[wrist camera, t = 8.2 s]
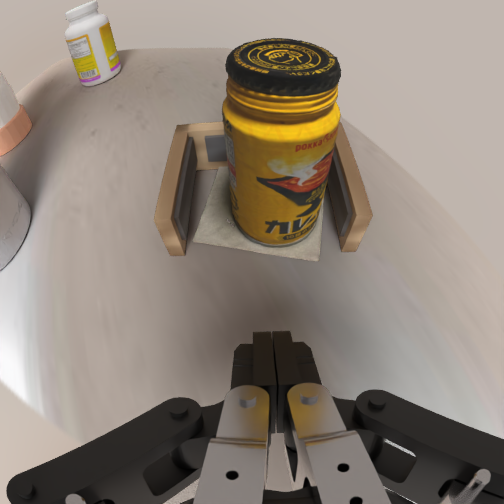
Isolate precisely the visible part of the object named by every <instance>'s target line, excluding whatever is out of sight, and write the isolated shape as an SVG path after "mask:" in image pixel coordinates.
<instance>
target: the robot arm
mask: <svg viewBox="0 0 504 504" xmlns="http://www.w3.org/2000/svg"><path fill="white" fill-rule="evenodd" d="M30 217H31V212H30V207H29V204H28V202H27V201H26V200H25V199H24V197H23V196H22V195H21V193H20V192H19V190H18V189H17V188H16V186H15V185H14V184H13V182H12V181H11V179H10V178H9V176H8V175H7V173H6V172H5V170H4V169H3V167H2V166H1V165H0V270H1V269H3V268H4V267H5V266H6V265H7V263H8V262H9V261H10V260H11V259H12V258H13V256H14V255H15V254H16V252H17V251H18V249H19V247H20V245H21V244H22V242H23V240H24V238H25V235H26V233H27V230H28V227H29V224H30ZM276 425H277V433H284V439H285V440H284V452H285V457H286V462H287V466H288V471H289V476H290V480H291V485H292V491H291V492H279V491H273V490H266V489H267V473H268V456H269V446H270V444H271V433H275V426H276ZM386 439H387V440H389V441H391V442H393V443H395V444H397V445H399V446H401V447H403V448H405V449H407V450H410V451H411V452H413V453H414V454H415V456H416V457H414V456H412V455H410V454H408V453H406V452H404V451H402V450H400V449H398V448H396V447H394V446H392V445H390V444H388V443H386V442H385V441H386ZM199 477H200V479H199V483H198V487H197V490H196V494H195V498H193V499H190V500H187V501H185V502H183V503H180V504H415V503H417V504H504V439H501V438H499V437H496V436H493V435H490V434H488V433H485V432H482V431H479V430H477V429H474V428H472V427H469V426H466V425H464V424H461V423H459V422H456V421H454V420H451V419H449V418H446V417H444V416H442V415H439V414H437V413H434V412H432V411H430V410H427V409H425V408H423V407H420V406H418V405H416V404H413V403H411V402H409V401H407V400H404V399H402V398H400V397H398V396H395V395H393V394H391V393H389V392H386V391H383V390H368V391H365V392H363V393H361V394H360V395H359V396H358V397H357V399H356V401H354V400H344V399H339V398H335V397H333V396H331V394H330V392H329V390H328V389H327V388H325V387H324V386H322V384H321V381H320V377H319V374H318V371H317V367H316V364H315V361H314V358H313V355H312V351H311V348H310V347H309V346H307V345H306V344H305V343H304V342H293V341H292V337H291V332H290V331H272V337H271V332H253V344H240V345H239V346H238V347H237V348H236V350H235V351H234V360H233V370H232V380H231V390H230V391H229V392H228V393H227V395H226V397H225V400H223V401H222V402H220V403H218V404H215V405H211V406H206V407H200V405H199V404H198V403H197V402H196V401H194V400H192V399H189V398H183V397H179V398H172V399H169V400H167V401H165V402H163V403H161V404H160V405H158V406H156V407H154V408H153V409H151V410H149V411H147V412H146V413H144V414H142V415H140V416H138V417H137V418H135V419H133V420H131V421H129V422H127V423H125V424H124V425H122V426H120V427H118V428H116V429H114V430H112V431H110V432H108V433H107V434H105V435H103V436H101V437H99V438H97V439H95V440H93V441H91V442H89V443H87V444H85V445H83V446H81V447H78V448H76V449H74V450H72V451H70V452H68V453H66V454H64V455H62V456H59V457H57V458H55V459H53V460H50V461H48V462H46V463H44V464H41V465H39V466H37V467H34V468H32V469H30V470H27V471H25V472H22V473H20V474H18V475H16V476H14V477H13V478H12V479H11V480H10V481H9V483H8V485H7V497H8V499H9V501H10V502H11V504H163V503H164V502H166V501H167V500H169V499H170V498H172V497H173V496H175V495H176V494H177V493H179V492H180V491H182V490H183V489H185V488H186V487H187V486H189V485H190V484H191V483H193V482H194V481H195V480H197V479H198V478H199ZM383 486H385V487H386V488H388V489H390V490H392V491H394V492H392V491H390V490H388V489H384V487H383ZM395 492H396V493H398V494H400V495H401V496H400V495H398V494H396V493H395ZM402 496H403V497H402ZM404 497H405V498H407V499H409V500H411V501H413V502H415V503H413V502H411V501H409V500H407V499H405V498H404Z"/></svg>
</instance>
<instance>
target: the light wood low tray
mask: <svg viewBox="0 0 504 504" xmlns="http://www.w3.org/2000/svg"><path fill="white" fill-rule="evenodd" d="M225 166H227V167H228V163H227V155H226V144H225V138H224V125H223V122H210V123H197V124H185V125H177V126H176V130H175V134H174V137H173V141H172V144H171V148H170V152H169V156H168V160H167V164H166V168H165V172H164V176H163V180H162V184H161V189H160V193H159V197H158V202H157V206H156V211H155V216H154V222H155V224H156V226H157V228H158V231H159V233H160V235H161V237H162V239H163V241H164V243H165V246H166V248H167V250H168V252H169V254H170V256H183V255H185V249H186V240H187V232H188V224H189V216H190V208H191V201H192V194H193V187H194V180H195V173H196V170H208V169H218V168H219V167H225ZM327 184H328V188H329V193H330V197H331V202H332V206H333V211H334V216H335V221H336V226H337V231H338V236H339V241H340V246H341V252H355V251H356V249H357V247H358V245H359V243H360V241H361V239H362V237H363V235H364V233H365V231H366V229H367V227H368V225H369V222H370V220H371V218H372V216H373V215H372V211H371V208H370V204H369V201H368V198H367V195H366V191H365V188H364V185H363V182H362V179H361V176H360V173H359V170H358V167H357V164H356V161H355V158H354V155H353V153H352V150H351V147H350V144H349V142H348V139H347V136H346V134H345V131H344V129H343V126H342V123H341V122H339V127H338V135H337V137H336V141H335V146H334V152H333V156H332V160H331V165H330V171H329V175H328V180H327Z"/></svg>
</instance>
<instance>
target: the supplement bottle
mask: <svg viewBox="0 0 504 504" xmlns="http://www.w3.org/2000/svg"><path fill="white" fill-rule="evenodd" d="M97 9H98V4H97V1H92V2H88V3H86V4H83V5H81V6H78V7H76V8H74V9H72V10H70V11H68V12H66V13H65V15H66V20H68V21H69V23H70V26H69V27H68V28H67V30H66V32H65V39H66V42H67V45H68V48H69V51H70V54H71V57H72V60H73V62H74V65H75V68H76V71H77V74H78V76H79V79H80V81H81V83H82V85H84V86H94V85H98V84H100V83H103V82H105V81H107V80H109V79H111V78H112V77H114V76H115V75H116V74H117V73H118V72H119V71H120V69H121V64H120V60H119V57H118V53H117V50H116V46H115V42H114V38H113V35H112V31H111V27H110V23H109V20H108V17H107V16H106V15H105V14H99V13H98V11H97Z"/></svg>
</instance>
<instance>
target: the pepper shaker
mask: <svg viewBox="0 0 504 504" xmlns="http://www.w3.org/2000/svg"><path fill="white" fill-rule="evenodd" d="M31 127H32V123H31V121H30V119H29V117H28V115H27V113H26V111H25V109H24V107H23V105H21V104H19V103H18V101H17V99H16V96H15V94H14V92H13V89H12V87H11V86H10V84H9V83H8V81H7V80H6V78H5V77H4V76H3V74H2V73H1V71H0V156H1V155H4V154H5V153H7V152H9V151H10V150H12V149H13V148H14V147H15V146H17V145H18V144H19V143H20V142H21V141H22V140H23V139H24V138H25V137H26V135H27V134H28V133H29V131H30V130H31Z"/></svg>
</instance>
